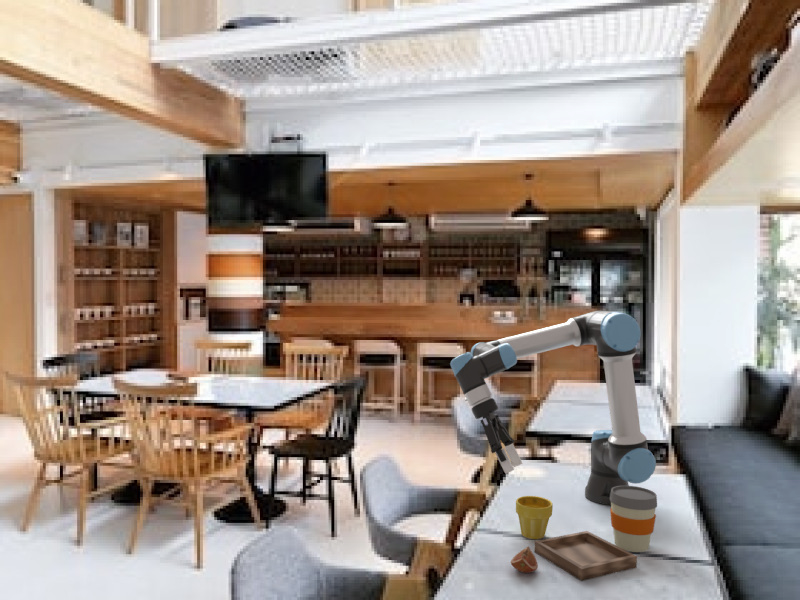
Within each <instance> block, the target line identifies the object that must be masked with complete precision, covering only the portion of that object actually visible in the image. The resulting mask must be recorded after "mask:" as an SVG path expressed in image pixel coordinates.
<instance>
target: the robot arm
mask: <svg viewBox="0 0 800 600" xmlns="http://www.w3.org/2000/svg"><path fill="white" fill-rule="evenodd" d="M641 335H642V334H641V328H640V325H639V323H638V321H637V320H636V318H634V317H633V316H631V314H627V313H625V312H621V311H614V310H613V311H611V310H602V309H601V310H600V309H599V310H594V311H591V312H587V313H584V314H581V315H578V316H574V317H571V318H570V317H569V318H568V319H567V321H566V322H563V323H559V324H555V325H551V326H547V327H543V328H540V329H536V330H535V329H534V330H531V331H528V332H522V333H519V334H516V335H512V336H511V335H510V336H506V337H504V338H500V339H497V340H491V341H487V342H484V341H482V342H478V343H475V344H474V345H473V346H472V347H471V350H470V351H467V352H465V353H462V354H460V355H458V356H456V357H454V358H452V360H451V361H450V363H449V365H450V368H451V370H452V372H453V375H454V377H455V379H456V381H457V383H458V385H459V387H460V389H461V391H462V394H464V397H465V398H464V401H466V402H467V403H468V405H469V407H471V412H472V414H473V416H474V417H475V419H476V420H479V419H481V418H482V419H481V420H480V423H481V425H482V428H483V431H484V433H485V436H486V438H487V441H488V444H489V447H490V452H491V454H494V453H495V456H496V457H497V459H498V461H499V462H498V463H499V464H500V466H501V468H502V470H503V472H504V473H505V474H508V473H510V472H513V471H514V470H515V468H516V467H518V466H520V465H522V464H523V461H522V459H521V458H520V456H519V454H518V453H519V452H518V451H517V450H516V447H515V445H514V443H515V442H516V441H515V440H514V439H515V438H514V439H513V438H512V436H511V435H510V433H509V432H508V429H506V427H505V426H504V424H503V422H502V420H501V419H500V416H499V414H497V413H496V414H495V413H494V412H496V411H497V410H498V409H499V407H498V404H497V402H496V400H495V399H494V398H493V393H492V392H491V390H490V388H489V386H488V384H487V382H486V381H485V380H486V379H488V378H490V377H492V376H494V375H496V374H499V373H501V372H503V371H505V370H509V369H510V368H511V367H513V366H516V364H517V362H518V359H520V358H524V357H529V356H533V355H536V354H541V353H545V352H547V351H553V350H557V349H560V348H563V347H567V346H575V347H581V346H585V345H590V346H591V345H593V346H596V351H597V357H598V358H600V359H601V360H602V361H603V369H604V374H605V382H606V391H607V400H608V407H609V415H610V417H609V418H610V425H611V429H599V430H598V429H597V430H595V431H593V432H592V435H591V436H592V438H591V451H590V453H591V454H590V455H591V456H590V459H591V460H590V475H589V478H588V481H587V484H586V486H585V489H584V496H585V498H586V499H588V500H589V501H592V502H594V503H596V504H597V503H598V504H602V505H608V506H611V501H610V493H611V489H612V488H613V487H616V486H630V484H629V483H632V484H641V483H644V482H646V481H648V480H649V479H650V478H651V476H653V474H654V473H655V470H656V467H657V460H656V457H655V456H654V455H653V453H652V452H651V450H649V449H648V440H647V439H648V438H647V436H646V435H645V434H643V433H642V431H641V423H640V418H639V417H640V416H639V410H638V409H639V408H638V400H637V398H638V397H637V392H636V391H637V389H636V383H635V375H634V366H633V357H634V356H635V355H636V354H637V345H638V343H639V342H640V339H641ZM502 444H503V445H502ZM503 446H504V448H503Z"/></svg>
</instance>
